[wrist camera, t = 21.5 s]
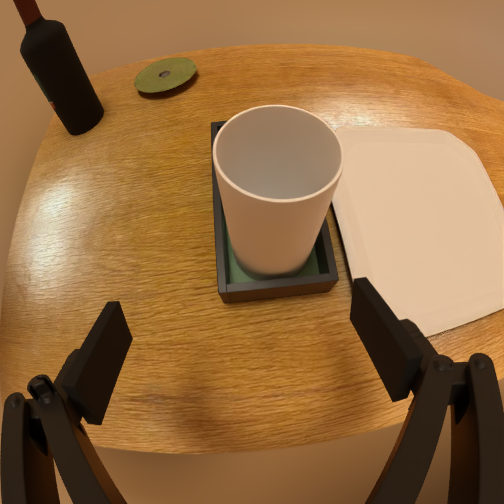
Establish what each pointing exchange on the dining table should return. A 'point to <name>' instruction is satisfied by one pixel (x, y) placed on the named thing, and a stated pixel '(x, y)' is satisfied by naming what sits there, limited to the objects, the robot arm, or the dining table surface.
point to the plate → (421, 224)
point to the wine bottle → (58, 70)
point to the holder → (246, 289)
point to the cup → (276, 186)
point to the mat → (165, 74)
